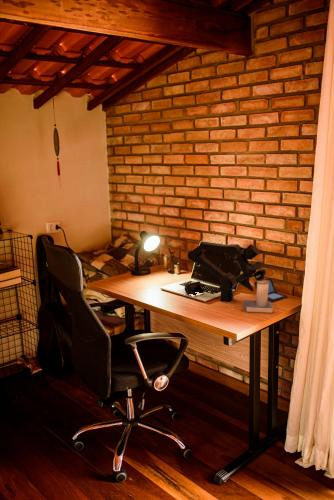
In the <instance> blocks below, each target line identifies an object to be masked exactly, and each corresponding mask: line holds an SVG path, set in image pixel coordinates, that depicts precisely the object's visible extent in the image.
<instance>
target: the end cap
mask: <svg viewBox="0 0 334 500" xmlns="http://www.w3.org/2000/svg"><path fill="white" fill-rule="evenodd" d="M205 286H206V284H205V283H201V281H195V282H191V283H187V284H185V286H184V292H185V293H186V294H187V295H188V294H193V295H196V294H197V293H195V292H199V293H205V291H206V289H205ZM202 287H203V288H202Z"/></svg>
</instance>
